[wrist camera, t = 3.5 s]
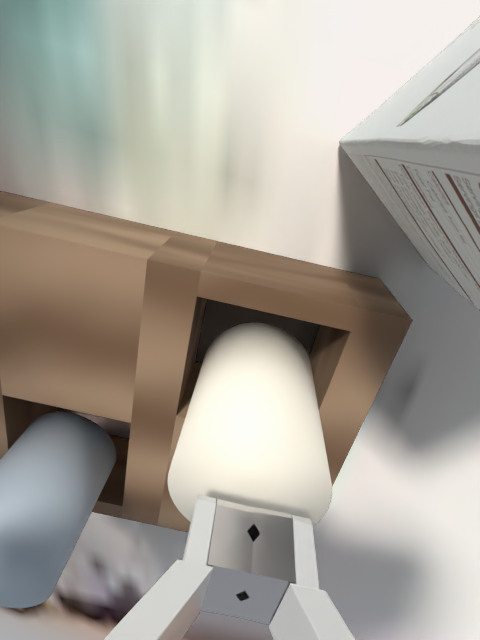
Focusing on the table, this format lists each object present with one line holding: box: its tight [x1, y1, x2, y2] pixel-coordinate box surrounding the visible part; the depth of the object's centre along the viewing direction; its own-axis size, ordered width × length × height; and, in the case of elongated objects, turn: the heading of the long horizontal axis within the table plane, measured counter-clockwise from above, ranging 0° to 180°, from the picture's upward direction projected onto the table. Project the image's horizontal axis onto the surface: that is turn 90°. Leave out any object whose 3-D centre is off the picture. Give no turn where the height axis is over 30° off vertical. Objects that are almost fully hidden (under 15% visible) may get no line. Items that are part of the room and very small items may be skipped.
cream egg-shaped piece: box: [168, 322, 332, 526], centre depth 13 cm, size 5×5×6 cm
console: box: [0, 191, 412, 532], centre depth 18 cm, size 15×26×4 cm, turn 78°
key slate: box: [0, 412, 117, 608], centre depth 16 cm, size 5×5×6 cm
